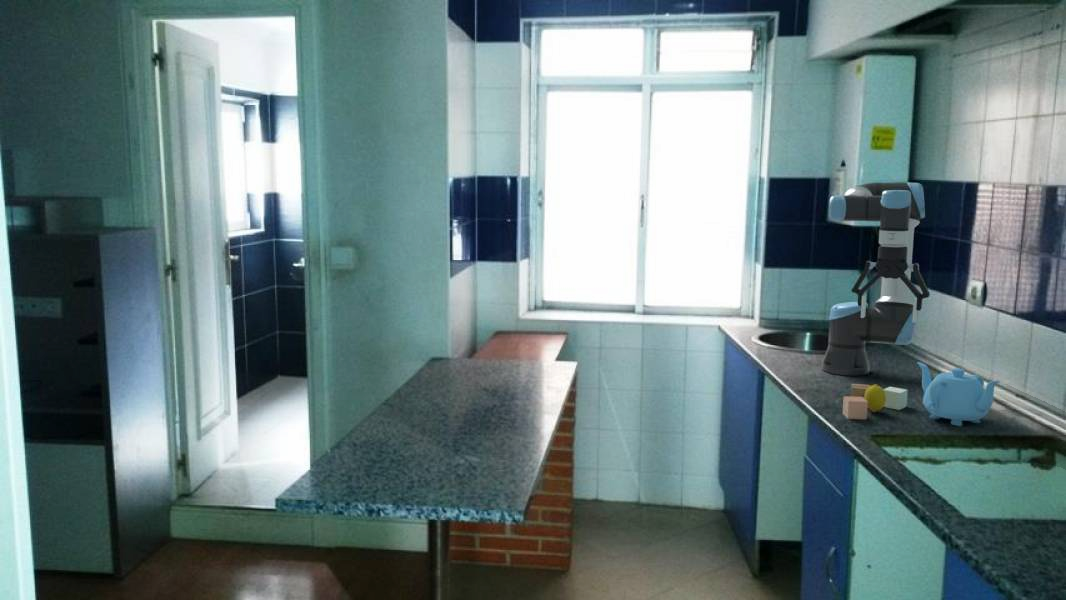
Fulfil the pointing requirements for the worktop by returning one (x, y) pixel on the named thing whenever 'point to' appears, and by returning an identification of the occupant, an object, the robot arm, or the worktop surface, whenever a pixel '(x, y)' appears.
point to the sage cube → (895, 398)
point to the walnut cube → (858, 390)
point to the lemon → (875, 397)
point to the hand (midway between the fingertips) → (888, 319)
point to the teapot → (956, 395)
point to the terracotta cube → (855, 407)
